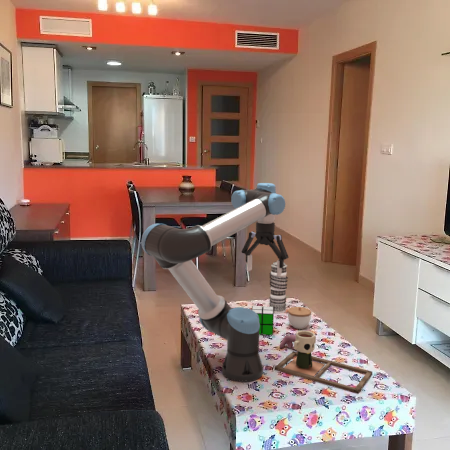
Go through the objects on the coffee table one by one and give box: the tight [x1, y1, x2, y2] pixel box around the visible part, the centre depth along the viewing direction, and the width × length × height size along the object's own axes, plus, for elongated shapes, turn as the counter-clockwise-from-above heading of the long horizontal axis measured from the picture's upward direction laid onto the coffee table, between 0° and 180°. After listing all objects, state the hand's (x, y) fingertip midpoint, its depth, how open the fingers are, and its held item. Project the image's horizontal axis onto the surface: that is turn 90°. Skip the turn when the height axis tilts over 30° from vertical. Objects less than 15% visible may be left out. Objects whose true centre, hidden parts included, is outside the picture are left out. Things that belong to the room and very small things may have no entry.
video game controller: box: [279, 334, 298, 352], centre depth 203 cm, size 10×5×7 cm, turn 50°
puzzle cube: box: [251, 305, 275, 336], centre depth 222 cm, size 10×10×10 cm
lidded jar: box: [287, 306, 312, 330], centre depth 228 cm, size 11×11×9 cm
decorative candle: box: [268, 261, 289, 314], centre depth 248 cm, size 9×9×25 cm
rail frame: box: [273, 350, 373, 394], centre depth 184 cm, size 17×32×1 cm, turn 58°
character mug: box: [293, 330, 317, 368], centre depth 187 cm, size 11×7×13 cm, turn 125°
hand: (264, 273), depth 201 cm, fingers open, 13 cm apart
